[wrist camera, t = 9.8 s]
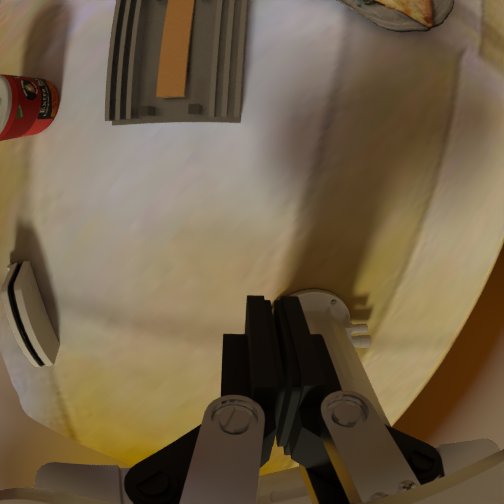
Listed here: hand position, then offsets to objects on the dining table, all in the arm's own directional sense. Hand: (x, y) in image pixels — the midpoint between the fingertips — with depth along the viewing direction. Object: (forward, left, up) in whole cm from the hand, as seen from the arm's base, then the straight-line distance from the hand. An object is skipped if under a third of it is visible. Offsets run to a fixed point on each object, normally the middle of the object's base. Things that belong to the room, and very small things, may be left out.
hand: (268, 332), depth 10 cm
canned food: (+28, -11, -27) cm, 41 cm away
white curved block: (+33, +20, -28) cm, 47 cm away
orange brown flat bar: (+8, -16, -23) cm, 29 cm away
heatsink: (+8, -16, -27) cm, 32 cm away
